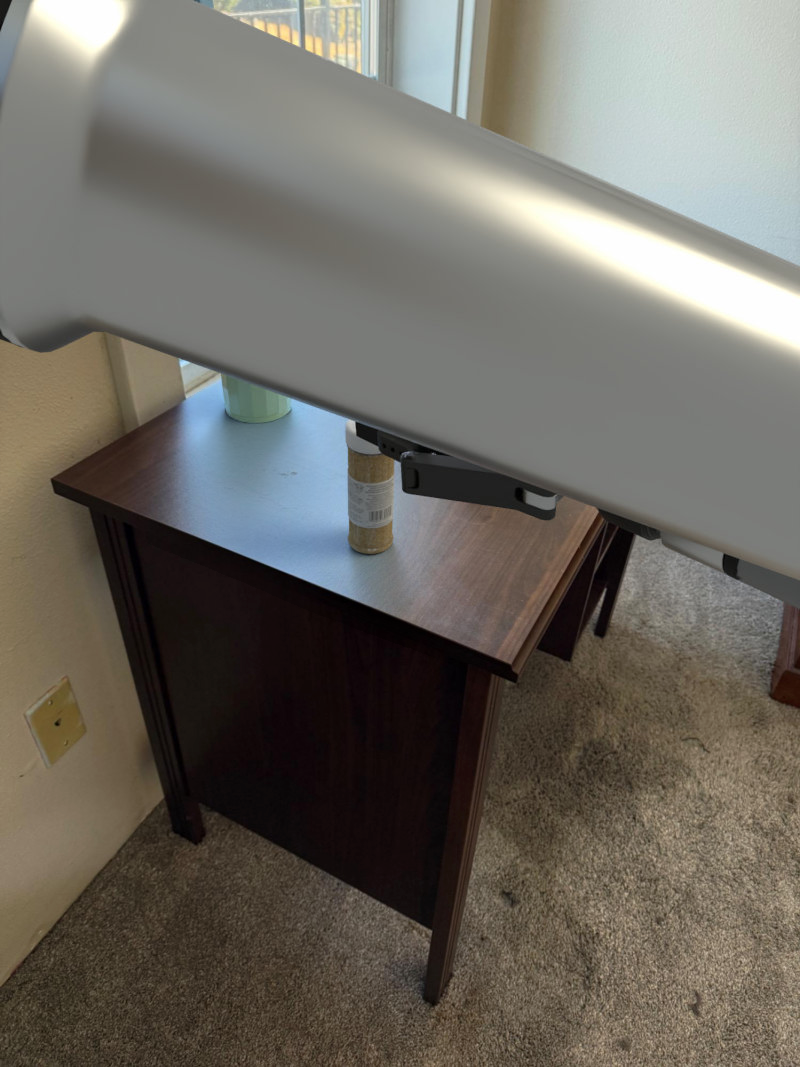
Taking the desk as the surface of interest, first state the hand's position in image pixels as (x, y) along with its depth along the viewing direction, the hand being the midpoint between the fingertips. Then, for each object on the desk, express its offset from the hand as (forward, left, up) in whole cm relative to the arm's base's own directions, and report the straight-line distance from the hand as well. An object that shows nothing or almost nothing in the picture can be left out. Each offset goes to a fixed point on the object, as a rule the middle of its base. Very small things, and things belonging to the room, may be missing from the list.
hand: (424, 383), depth 56 cm
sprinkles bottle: (-3, +7, -21) cm, 22 cm away
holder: (-12, +36, -20) cm, 43 cm away
